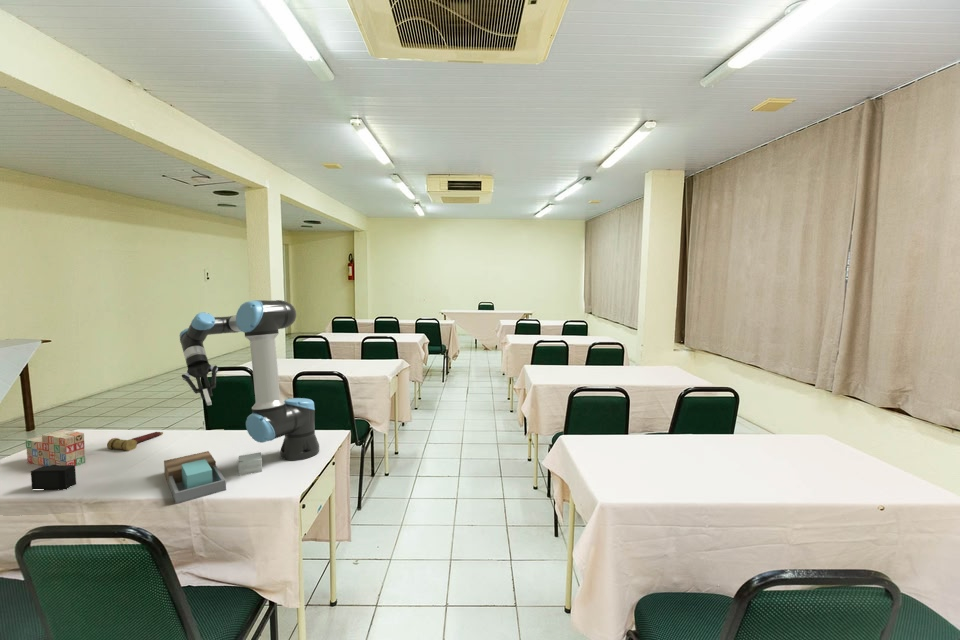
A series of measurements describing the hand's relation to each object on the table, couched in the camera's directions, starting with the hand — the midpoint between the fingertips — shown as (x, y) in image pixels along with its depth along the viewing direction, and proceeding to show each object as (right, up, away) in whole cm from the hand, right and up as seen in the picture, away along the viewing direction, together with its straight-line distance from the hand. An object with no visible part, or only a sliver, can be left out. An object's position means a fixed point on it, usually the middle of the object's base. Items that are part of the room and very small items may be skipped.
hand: (209, 403), depth 164 cm
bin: (+11, -25, -22) cm, 35 cm away
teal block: (+6, -21, -18) cm, 28 cm away
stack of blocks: (-57, -23, -4) cm, 62 cm away
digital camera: (-38, -24, -22) cm, 50 cm away
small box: (+21, -24, -7) cm, 33 cm away
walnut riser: (+1, -24, -12) cm, 27 cm away
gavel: (-43, -22, +19) cm, 52 cm away
